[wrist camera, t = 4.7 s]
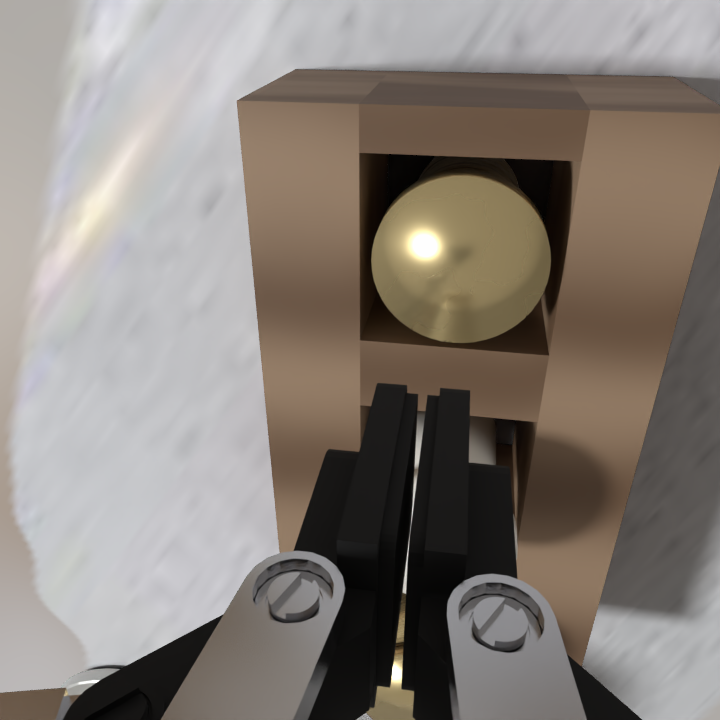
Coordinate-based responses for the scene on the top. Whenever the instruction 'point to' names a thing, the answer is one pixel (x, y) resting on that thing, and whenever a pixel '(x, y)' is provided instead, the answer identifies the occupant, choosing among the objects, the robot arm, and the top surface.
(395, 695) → the brass knob
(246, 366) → the top surface
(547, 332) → the block
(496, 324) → the brass knob
